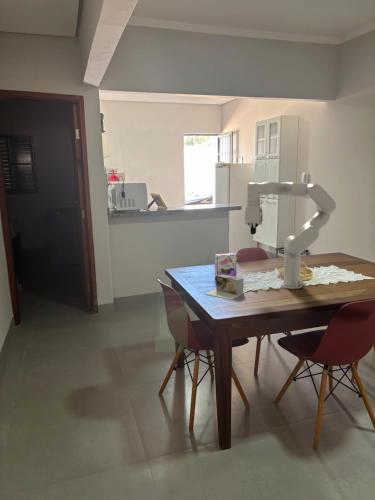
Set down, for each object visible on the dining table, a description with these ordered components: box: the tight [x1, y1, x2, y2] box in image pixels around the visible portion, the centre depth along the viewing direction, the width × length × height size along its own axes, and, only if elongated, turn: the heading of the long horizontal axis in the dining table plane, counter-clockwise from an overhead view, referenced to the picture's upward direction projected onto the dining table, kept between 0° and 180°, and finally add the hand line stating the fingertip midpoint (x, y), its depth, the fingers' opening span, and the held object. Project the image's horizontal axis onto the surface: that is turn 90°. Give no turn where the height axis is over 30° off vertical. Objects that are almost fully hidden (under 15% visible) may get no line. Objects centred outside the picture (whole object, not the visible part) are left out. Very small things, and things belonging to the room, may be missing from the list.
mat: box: [205, 288, 247, 301], centre depth 221 cm, size 18×18×1 cm
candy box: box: [214, 252, 237, 279], centre depth 250 cm, size 14×6×16 cm, turn 101°
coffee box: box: [215, 274, 244, 295], centre depth 222 cm, size 9×6×16 cm
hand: (253, 233), depth 226 cm, fingers closed
